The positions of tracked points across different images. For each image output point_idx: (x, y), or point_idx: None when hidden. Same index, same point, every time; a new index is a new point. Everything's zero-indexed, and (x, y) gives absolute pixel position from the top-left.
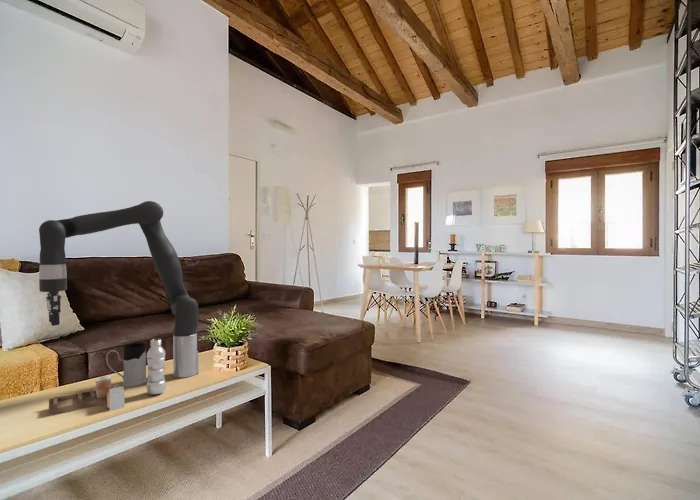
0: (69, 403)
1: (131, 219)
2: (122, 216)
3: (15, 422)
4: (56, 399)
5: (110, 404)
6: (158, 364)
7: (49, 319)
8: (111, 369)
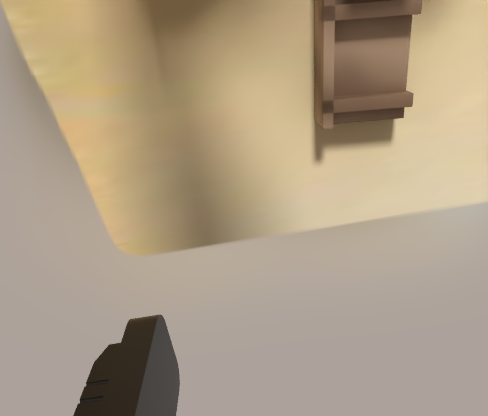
0: (382, 50)
1: None
2: None
3: (375, 198)
4: (356, 100)
5: None
6: None
7: (175, 407)
8: None
